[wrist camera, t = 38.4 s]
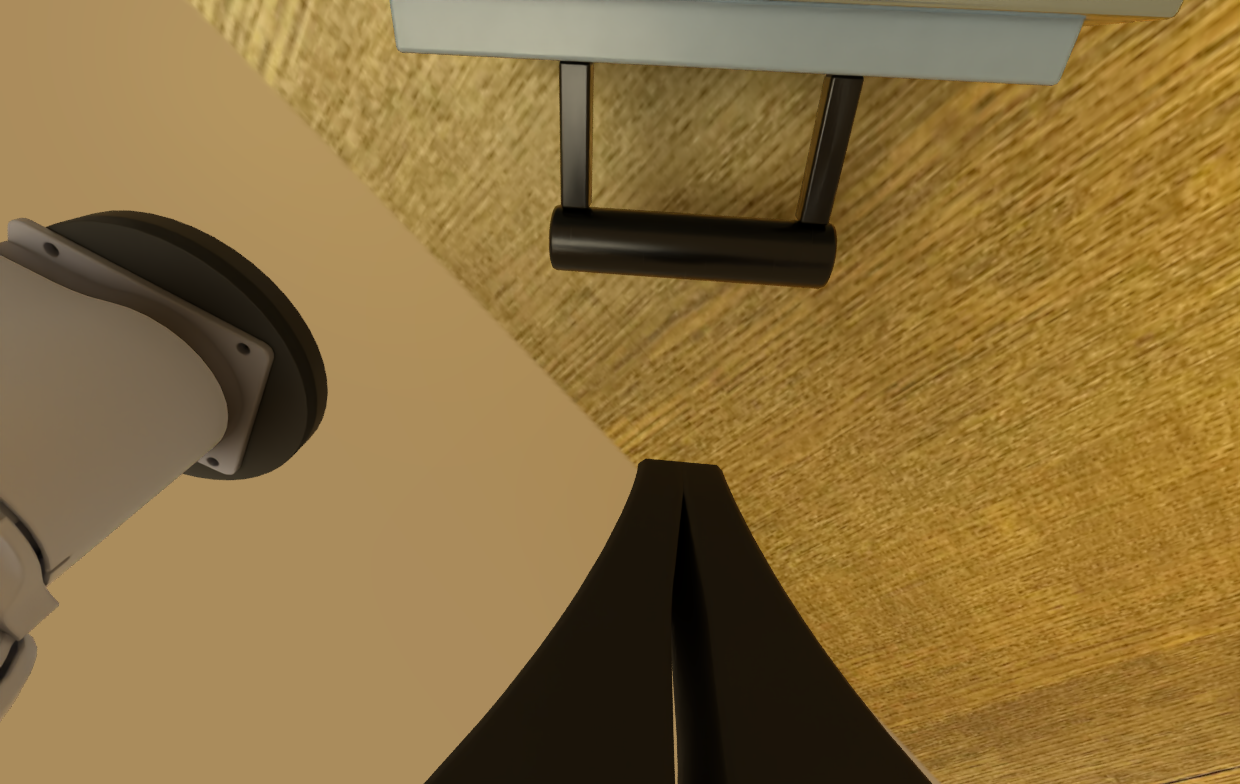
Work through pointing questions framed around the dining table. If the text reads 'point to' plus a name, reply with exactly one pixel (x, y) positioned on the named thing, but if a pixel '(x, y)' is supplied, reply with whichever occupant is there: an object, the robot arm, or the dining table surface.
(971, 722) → the dining table surface
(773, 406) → the dining table surface
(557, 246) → the grey drawer
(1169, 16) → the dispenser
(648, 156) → the dining table surface
